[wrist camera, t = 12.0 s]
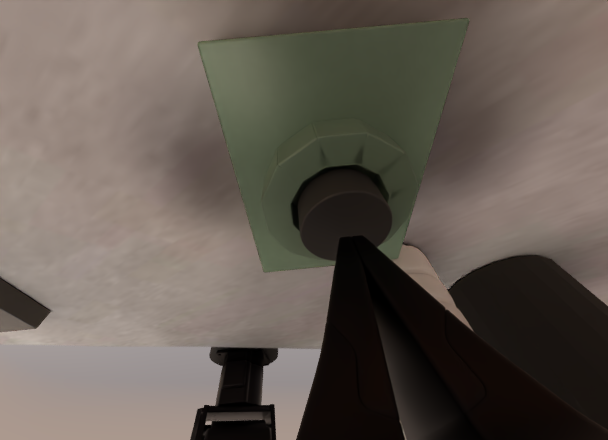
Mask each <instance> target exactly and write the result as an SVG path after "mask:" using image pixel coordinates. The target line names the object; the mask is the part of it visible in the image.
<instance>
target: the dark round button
mask: <svg viewBox="0 0 608 440" xmlns="http://www.w3.org/2000/svg"><path fill="white" fill-rule="evenodd" d="M298 218H299V229H300V237H301V240H302V243H303V244H304V246H305V247H306V248H307V250H308V251H310V252H311V253H312V254H314V255H315V256H317V257H319V258H322V259H326V260H331V261H336V256H337V250H338V243H339V238H340V237H347V236H350V237H352V236H357V235H363V236H364V237H366V238H367V239H368V240H369V241H370V242H371V243H372V244H374V245H375V246H376V247H378V246H379V245H380V244H381V243H382V242H383V241H384V240H385V239H386V237H387V236H388V234H389V232H390V230H391V227H392V211H391V209H390V207H389V205H388V203H387V202H386V200H385V199H384V197H383V195H382V194H381V192H380V191H379V189H378V188H377V186H376V184H375V183H374V181H373V180H372V179H371V178H370V177H369V176H367V175H366V174H364V173H362V172H360V171H357V170H352V169H335V170H331V171H327V172H325V173H322V174H321V175H319V176H317V177H316V178H314V179H313V180H312V181H311V182H309V183H308V184H307V186H306V187H305V188H304V190H303V191H302V193H301V195H300V197H299V201H298Z"/></svg>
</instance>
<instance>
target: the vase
mask: <svg viewBox="0 0 608 440" xmlns="http://www.w3.org/2000/svg"><path fill="white" fill-rule="evenodd" d="M449 294H450V295H451V297H452V299H453V301H454V303H455V305H456V308H458V309H459V310H460V312H461V313H462V314H463V316H464V317H465V319H466V320H467V322H468V323H469V325H470V326H471V328H472V330H473V331H474V332H475V333H476V334H477V335H478V336H479V337H481V338H482V339H483V340H484V341H486V342H487V343H488V344H490V345H491V346H492V347H493V348H495V349H496V350H497V351H499V352H500V353H501V354H502V355H504V356H505V357H506V358H508V359H509V360H510V361H512V362H513V363H514V364H516V365H517V366H518V367H520V368H521V369H522V370H524V371H525V372H526V373H528V374H529V375H530V376H531V377H533V378H534V379H535V380H537V381H538V382H539V383H541V384H542V385H543V386H545V387H546V388H547V389H549V390H550V391H551V392H553V393H554V394H555V395H557V396H558V397H559V398H561V399H562V400H563V401H565V402H566V403H567V404H569V405H570V406H571V407H573V408H574V409H576V410H577V411H578V412H580V413H582V414H583V415H585V416H586V417H588V418H589V419H591V420H592V421H594V422H595V423H597V424H599V425H600V426H602V427H604V428H605V429H607V430H608V306H607V305H606V304H604V303H603V302H602V301H601V300H600V299H598V298H597V297H596V296H595V295H594V294H592V293H591V292H590V291H589V290H588V289H586V288H585V287H584V286H583V285H582V284H580V283H579V282H578V281H577V280H576V279H574V278H573V277H572V276H571V275H570V274H568V273H567V272H566V271H565V270H564V269H562V268H561V267H560V266H559V265H557V264H556V263H555V262H554V261H553V260H551V259H548V258H544V257H540V256H524V257H514V258H510V259H506V260H503V261H499V262H495V263H492V264H490V265H488V266H485V267H483V268H481V269H479V270H476V271H474V272H472V273H471V274H469V275H468V276H466V277H465V278H463V279H462V280H460V281H459V282H457V283H456V284H455V285H454V286H453V287H452V288H451V289H450V290H449Z"/></svg>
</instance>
